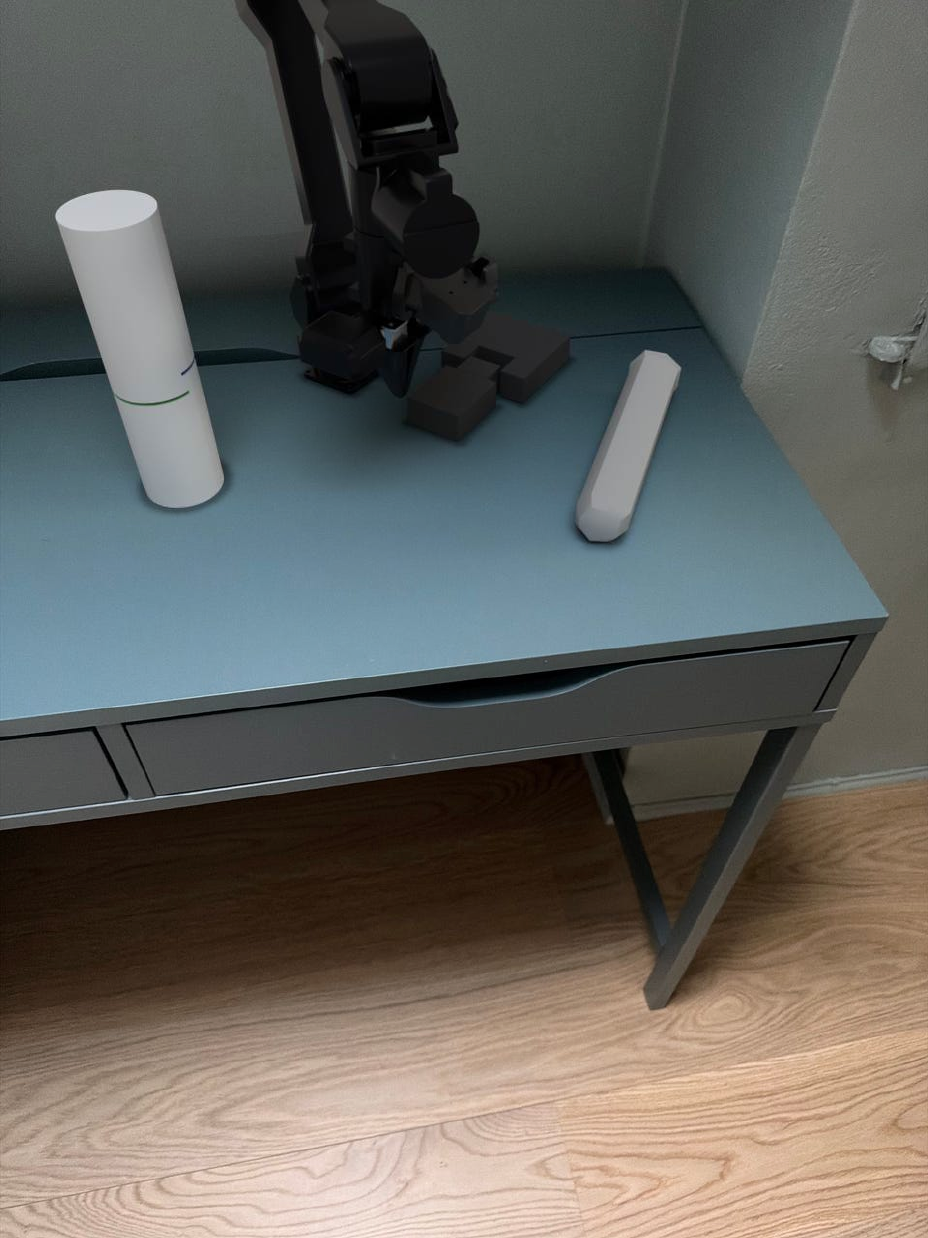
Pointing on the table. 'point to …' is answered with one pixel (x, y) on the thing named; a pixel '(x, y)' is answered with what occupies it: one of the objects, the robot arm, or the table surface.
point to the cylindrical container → (143, 341)
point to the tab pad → (455, 398)
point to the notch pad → (513, 353)
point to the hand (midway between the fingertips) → (400, 395)
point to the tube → (627, 447)
